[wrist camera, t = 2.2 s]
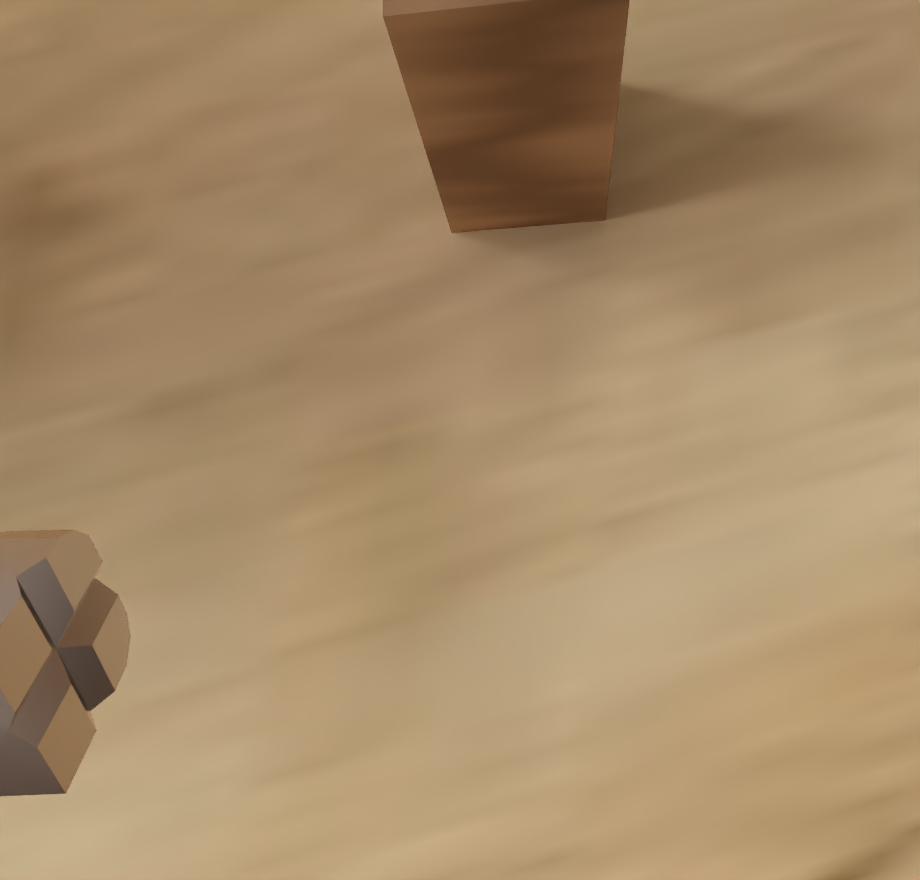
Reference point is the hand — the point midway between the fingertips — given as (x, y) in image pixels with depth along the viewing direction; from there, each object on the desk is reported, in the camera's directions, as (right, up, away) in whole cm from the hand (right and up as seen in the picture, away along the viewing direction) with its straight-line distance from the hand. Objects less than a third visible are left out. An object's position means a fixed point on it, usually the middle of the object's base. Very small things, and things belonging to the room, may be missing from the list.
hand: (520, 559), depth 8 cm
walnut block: (+1, +10, +18) cm, 20 cm away
